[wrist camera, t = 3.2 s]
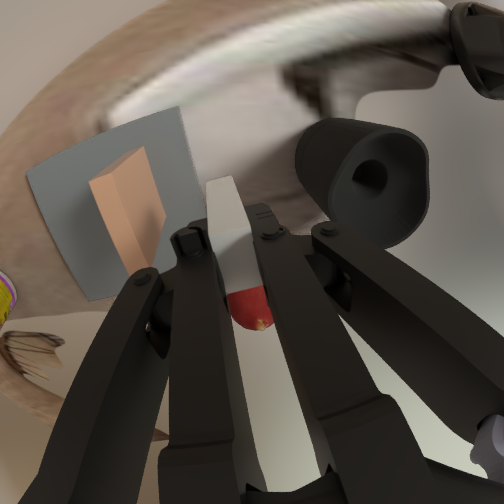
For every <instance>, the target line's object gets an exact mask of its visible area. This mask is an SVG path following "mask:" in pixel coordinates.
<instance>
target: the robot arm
mask: <svg viewBox="0 0 504 504" xmlns="http://www.w3.org/2000/svg"><path fill="white" fill-rule="evenodd" d="M450 31H451V38H452V43H453V47H454V50H455V53H456V56H457V59H458V62H459V64H460V66H461V69H462V71H463V72H464V75H465V76H466V78H467V80H468V81H469V83H470V84H471V85H472V87H473V88H474V89H475V90H476V91H477V92H478V93H479V94H480V95H482V96H484V97H486V98H490V99H494V100H500V101H502V100H504V11H502V10H499V9H496V8H493V7H490V6H487V5H484V4H481V3H477V2H463V3H458V4H456V5H455V6H454V8H453V10H452V12H451V17H450ZM206 200H207V218H203V219H199V220H195V221H192V222H190V223H189V224H188V225H187V227H184V228H181V229H179V230H178V231H176V232H175V233H174V234H172V235H171V237H170V241H171V244H172V247H173V249H174V252H175V254H176V257H177V263H176V266H175V267H173V268H171V269H170V270H168V271H166V272H163V273H161V274H159V272H158V270H157V269H156V268H154V267H147V268H142V269H140V270H137V271H136V272H135V273H133V274H132V275H131V276H130V277H129V278H128V279H127V281H126V283H125V284H124V286H123V288H122V289H121V291H120V293H119V295H118V296H117V298H116V300H115V301H114V303H113V305H112V307H111V308H110V310H109V312H108V314H107V316H106V317H105V319H104V321H103V323H102V325H101V327H100V328H99V330H98V332H97V334H96V336H95V338H94V340H93V342H92V344H91V345H90V347H89V350H88V352H87V353H86V356H85V357H84V359H83V362H82V364H81V366H80V368H79V370H78V372H77V374H76V376H75V378H74V380H73V383H72V385H71V387H70V389H69V392H68V394H67V396H66V398H65V401H64V403H63V405H62V408H61V410H60V413H59V415H58V418H57V420H56V423H55V425H54V428H53V431H52V434H51V436H50V439H49V442H48V444H47V447H46V450H45V453H44V456H43V459H42V462H41V466H40V468H39V472H38V475H37V476H36V477H35V479H34V480H33V482H32V483H31V485H30V486H29V488H28V489H27V490H26V492H25V493H24V495H23V496H22V498H21V499H20V501H19V502H18V504H136V503H137V500H138V495H139V490H140V486H141V481H142V476H143V473H144V468H145V464H146V460H147V456H148V451H149V447H150V443H151V439H152V436H153V432H154V428H155V424H156V420H157V416H158V413H159V409H160V405H161V401H162V398H163V394H164V390H165V387H166V383H167V380H168V377H169V443H168V446H167V447H165V448H164V449H162V450H161V452H160V454H159V457H158V485H159V500H160V504H504V337H503V336H502V335H500V334H499V333H498V332H497V331H495V330H494V329H493V328H492V327H491V326H490V325H488V324H487V323H486V322H485V321H483V320H482V319H481V318H480V317H478V316H477V315H476V314H475V313H473V312H472V311H471V310H469V309H468V308H467V307H465V306H464V305H463V304H462V303H460V302H459V301H458V300H456V299H455V298H454V297H452V296H451V295H450V294H448V293H447V292H445V291H444V290H443V289H441V288H440V287H438V286H437V285H436V284H434V283H433V282H432V281H430V280H429V279H427V278H426V277H424V276H423V275H421V274H420V273H418V272H417V271H416V270H414V269H413V268H411V267H410V266H408V265H407V264H406V263H404V262H402V261H401V260H400V259H398V258H396V257H395V256H393V255H392V254H390V253H389V252H387V251H386V250H384V249H383V248H381V247H380V246H378V245H376V244H375V243H373V242H372V241H370V240H368V239H367V238H365V237H364V236H362V235H360V234H359V233H357V232H356V231H354V230H352V229H351V228H349V227H347V226H346V225H344V224H342V223H339V222H334V221H324V222H322V223H318V224H317V225H315V226H313V228H312V229H311V235H303V236H300V235H291V233H290V231H289V230H288V229H287V228H286V227H283V226H280V224H279V222H278V220H277V219H276V217H275V215H274V214H273V212H272V210H271V209H270V207H269V206H268V205H266V204H263V203H260V204H256V205H252V206H247V207H243V204H242V202H241V199H240V196H239V194H238V191H237V188H236V186H235V183H234V180H233V178H232V175H231V176H227V177H223V178H219V179H215V180H211V181H207V182H206ZM261 285H263V287H264V292H265V296H266V301H267V306H268V307H269V308H270V311H271V314H272V317H273V321H274V323H275V327H276V330H277V333H278V336H279V340H280V343H281V346H282V349H283V352H284V355H285V359H286V362H287V365H288V368H289V371H290V374H291V378H292V381H293V384H294V387H295V390H296V393H297V396H298V400H299V403H300V406H301V409H302V412H303V416H304V419H305V422H306V425H307V428H308V431H309V434H310V438H311V441H312V444H313V447H314V451H315V455H316V460H317V464H318V467H319V471H320V474H321V477H320V478H318V479H317V480H315V481H313V482H311V483H309V484H308V485H305V486H303V487H302V488H299V489H297V490H295V491H292V492H268V491H267V486H266V482H265V479H264V476H263V473H262V470H261V468H260V465H259V461H258V458H257V453H256V448H255V443H254V438H253V434H252V429H251V424H250V419H249V414H248V408H247V403H246V398H245V393H244V388H243V382H242V377H241V371H240V367H239V361H238V355H237V349H236V344H235V338H234V331H233V326H232V319H231V313H230V307H229V302H228V299H227V296H226V293H227V294H229V293H233V292H237V291H241V290H245V289H249V288H253V287H257V286H261ZM225 290H226V292H225ZM337 313H338V314H339V315H340V316H341V317H342V318H343V319H344V320H345V321H346V322H347V323H348V324H349V325H350V326H351V327H352V328H353V330H354V331H356V332H357V333H358V335H359V336H361V338H362V339H363V340H364V341H365V342H366V343H367V344H368V345H370V347H371V348H372V349H373V350H374V351H375V352H376V353H377V354H378V355H379V356H380V357H381V358H382V359H383V360H384V361H385V362H386V363H387V364H388V365H389V366H390V367H391V368H392V369H393V370H394V371H395V372H396V373H397V374H398V375H399V376H400V378H401V379H402V380H403V381H404V382H405V383H406V384H407V385H408V386H409V387H410V388H411V389H412V390H413V391H414V392H415V393H416V394H417V395H418V396H419V397H420V398H421V400H422V401H423V402H424V403H425V404H426V405H427V406H428V407H429V408H430V409H431V410H432V411H433V412H434V413H435V414H436V415H437V416H438V418H439V419H441V421H442V422H443V423H444V424H445V425H446V426H447V427H449V428H450V429H451V430H452V431H453V432H454V433H456V434H457V435H458V436H460V437H461V438H463V439H464V440H465V441H467V442H469V443H471V444H473V445H474V447H473V449H472V450H471V453H470V459H471V461H472V462H473V463H475V464H479V465H480V466H481V467H482V468H483V469H484V470H485V471H486V473H487V476H488V479H485V478H482V477H479V476H476V475H472V474H469V473H466V472H463V471H461V470H458V469H455V468H452V467H449V466H446V465H444V464H441V463H439V462H436V461H434V460H431V459H428V458H426V457H424V456H423V454H422V452H421V449H420V447H419V445H418V443H417V441H416V439H415V437H414V435H413V433H412V431H411V429H410V427H409V425H408V423H407V421H406V419H405V417H404V415H403V413H402V411H401V409H400V407H399V405H398V404H397V402H396V401H395V399H393V398H392V397H391V396H390V395H387V394H382V393H381V392H380V391H379V390H378V388H377V387H376V385H375V383H374V381H373V379H372V377H371V375H370V373H369V371H368V369H367V367H366V365H365V364H364V361H363V360H362V358H361V356H360V354H359V352H358V350H357V348H356V347H355V345H354V343H353V341H352V339H351V337H350V335H349V334H348V332H347V330H346V328H345V326H344V325H343V323H342V321H341V319H340V317H339V315H338V314H337ZM147 324H148V326H147V329H146V325H147Z"/></svg>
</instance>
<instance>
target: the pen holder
mask: <svg viewBox="0 0 504 504" xmlns="http://www.w3.org/2000/svg"><path fill="white" fill-rule="evenodd" d="M295 167H296V172H297V175H298V178H299V180H300V182H301V184H302V185H303V187H304V188H305V189H306V191H307V192H308V193H309V194H310V196H311V197H312V198H313V199H314V201H315V202H316V203H317V204H318V205H319V207H320V208H321V209H322V210H323V212H324V213H325V214H326V215H327V217H328V218H329V219H330V220H331V221H334V222H339V223H342V224H344V225H346V226H347V227H349V228H351V229H352V230H354V231H356V232H357V233H359V234H360V235H362V236H364V237H365V238H367V239H368V240H370V241H372V242H373V243H375V244H376V245H378V246H380V247H381V248H383V249H387V248H390V247H393V246H395V245H397V244H399V243H401V242H402V241H404V240H405V239H407V238H408V237H409V236H410V235H411V234H412V233H413V232H414V231H415V230H416V229H417V228H418V227H419V225H420V224H421V223H422V221H423V220H424V218H425V216H426V214H427V210H428V207H429V200H430V188H429V155H428V150H427V148H426V146H425V144H424V143H423V142H422V141H421V140H420V139H419V138H418V137H417V136H416V135H414V134H413V133H411V132H409V131H407V130H404V129H400V128H396V127H391V126H387V125H381V124H376V123H371V122H365V121H359V120H353V119H345V118H330V119H325V120H322V121H320V122H318V123H316V124H314V125H313V126H312V127H310V128H309V129H308V130H307V131H306V132H305V134H304V135H303V136H302V138H301V140H300V142H299V144H298V147H297V150H296V155H295Z"/></svg>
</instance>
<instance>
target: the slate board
mask: <svg viewBox="0 0 504 504" xmlns="http://www.w3.org/2000/svg"><path fill="white" fill-rule="evenodd" d="M142 146H144V149H145V152H146V155H147V159H148V162H149V165H150V169H151V172H152V175H153V178H154V181H155V184H156V187H157V190H158V193H159V196H160V199H161V202H162V205H163V208H164V211H165V214H166V218H165V222H164V225H163V229H162V232H161V236H160V239H159V243H158V246H157V250H156V254H155V258H154V262H153V265H152V267H154V268H156V269H157V270H158V272H159V274H161V273H163V272H166V271H168V270H170V269H171V268H173V267H175V266H176V263H177V257H176V254H175V252H174V249H173V247H172V244H171V241H170V237H171V235H172V234H174V233H175V232H176V231H178V230H179V229H181V228H184V227H187V225H188V224H189V223H190V222H192V221H195V220H199V219H203V218H207V211H206V207H205V204H204V200H203V196H202V193H201V189H200V186H199V182H198V178H197V175H196V171H195V167H194V163H193V160H192V156H191V152H190V148H189V144H188V141H187V137H186V133H185V129H184V125H183V121H182V117H181V113H180V109H179V106H177V107H174V108H170V109H167V110H164V111H161V112H157V113H154V114H151V115H148V116H145V117H142V118H139V119H137V120H134V121H131V122H128V123H126V124H123V125H120V126H118V127H115V128H113V129H110V130H108V131H105V132H103V133H101V134H98V135H96V136H94V137H92V138H89V139H87V140H85V141H83V142H81V143H78V144H76V145H74V146H72V147H70V148H68V149H66V150H64V151H62V152H60V153H58V154H56V155H54V156H52V157H51V158H49V159H47V160H45V161H43V162H41V163H40V164H38V165H36V166H34V167H33V168H31V169H29V170H28V171H26V175H27V178H28V180H29V183H30V186H31V188H32V191H33V194H34V196H35V199H36V201H37V203H38V206H39V208H40V211H41V213H42V215H43V217H44V220H45V222H46V224H47V226H48V228H49V230H50V233H51V235H52V237H53V239H54V241H55V243H56V245H57V247H58V249H59V251H60V253H61V254H62V256H63V258H64V260H65V262H66V264H67V266H68V267H69V269H70V271H71V273H72V274H73V276H74V278H75V280H76V281H77V283H78V285H79V286H80V288H81V290H82V291H83V293H84V294H85V296H86V298H87V299H88V301H94V300H98V299H103V298H107V297H112V296H116V295H119V293H120V291H121V289H122V288H123V286H124V284H125V283H126V281H127V279H128V278H129V277H130V276H129V274H128V272H127V270H126V268H125V266H124V264H123V262H122V259H121V257H120V255H119V253H118V251H117V249H116V247H115V245H114V242H113V240H112V238H111V236H110V234H109V231H108V229H107V227H106V224H105V222H104V220H103V217H102V215H101V213H100V210H99V208H98V205H97V203H96V200H95V198H94V195H93V192H92V190H91V187H90V185H89V181H90V180H91V179H92V178H93V177H95V176H96V175H97V174H98V173H100V172H101V171H102V170H103V169H105V168H106V167H107V166H109V165H110V164H111V163H113V162H114V161H115V160H117V159H118V158H119V157H121V156H122V155H123V154H125V153H126V152H128V151H130V150H133V149H136V148H139V147H142Z"/></svg>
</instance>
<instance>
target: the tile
mask: <svg viewBox="0 0 504 504" xmlns="http://www.w3.org/2000/svg"><path fill="white" fill-rule="evenodd" d="M89 185H90V187H91V190H92V192H93V195H94V198H95V200H96V203H97V205H98V208H99V210H100V213H101V215H102V217H103V220H104V222H105V224H106V227H107V229H108V231H109V234H110V236H111V238H112V240H113V242H114V245H115V247H116V249H117V251H118V253H119V255H120V257H121V259H122V262H123V264H124V266H125V268H126V270H127V272H128V274H129V276H131V275H132V274H133V273H135V272H136V271H137V270H140V269H142V268H147V267H152V265H153V262H154V258H155V254H156V250H157V246H158V243H159V239H160V236H161V232H162V229H163V225H164V222H165V218H166V214H165V211H164V208H163V205H162V202H161V199H160V196H159V193H158V190H157V187H156V184H155V181H154V178H153V175H152V172H151V169H150V165H149V162H148V159H147V155H146V152H145V149H144V146H142V147H139V148H136V149H133V150H130V151H128V152H126V153H125V154H123V155H122V156H121V157H119V158H118V159H117V160H115V161H114V162H113V163H111V164H110V165H109V166H107V167H106V168H105V169H103V170H102V171H101V172H100V173H98V174H97V175H96V176H95V177H93V178H92V179H91V180H90V181H89Z"/></svg>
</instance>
